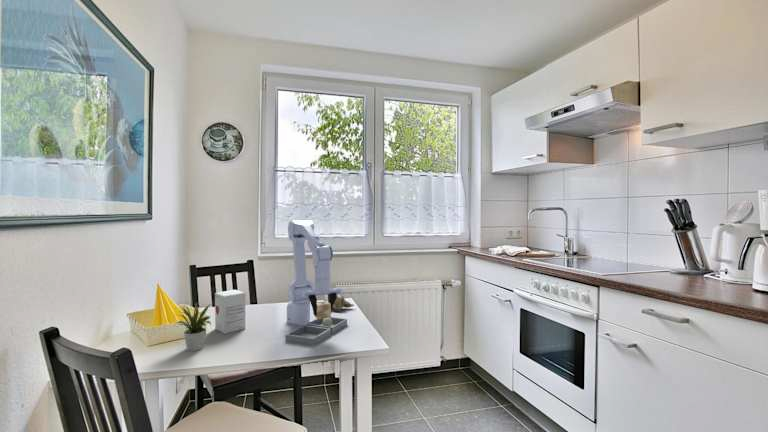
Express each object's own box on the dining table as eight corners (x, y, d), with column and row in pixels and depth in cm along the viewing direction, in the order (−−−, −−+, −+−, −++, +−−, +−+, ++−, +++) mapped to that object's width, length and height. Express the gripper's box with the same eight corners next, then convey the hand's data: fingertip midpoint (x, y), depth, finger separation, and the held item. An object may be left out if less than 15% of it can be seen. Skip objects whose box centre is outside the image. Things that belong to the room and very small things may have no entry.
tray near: (285, 342, 136) (285, 334, 135) (304, 332, 147) (304, 325, 147) (313, 347, 131) (313, 338, 131) (330, 336, 142) (330, 328, 142)
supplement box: (214, 329, 151) (214, 292, 151) (235, 324, 157) (235, 289, 157) (224, 334, 145) (223, 296, 144) (246, 328, 151) (245, 292, 151)
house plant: (164, 360, 120) (164, 309, 120) (170, 345, 133) (169, 300, 132) (213, 353, 126) (213, 305, 125) (214, 339, 138) (213, 296, 138)
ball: (320, 328, 150) (320, 318, 150) (325, 325, 154) (325, 315, 154) (328, 329, 149) (328, 319, 149) (333, 326, 152) (333, 316, 152)
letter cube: (317, 319, 136) (317, 305, 136) (314, 315, 141) (314, 302, 141) (330, 317, 138) (330, 303, 138) (327, 313, 143) (327, 300, 142)
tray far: (306, 331, 148) (306, 323, 148) (322, 322, 159) (322, 315, 159) (332, 335, 144) (332, 327, 144) (347, 326, 155) (347, 319, 155)
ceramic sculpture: (333, 287, 190) (355, 293, 181) (332, 304, 190) (354, 310, 181) (317, 291, 181) (340, 297, 172) (317, 308, 182) (339, 315, 173)
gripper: (305, 281, 133) (305, 319, 133) (344, 278, 138) (344, 314, 138) (301, 278, 139) (301, 314, 139) (338, 275, 145) (338, 310, 145)
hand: (322, 314), depth 139 cm, fingers closed on letter cube, 5 cm apart
